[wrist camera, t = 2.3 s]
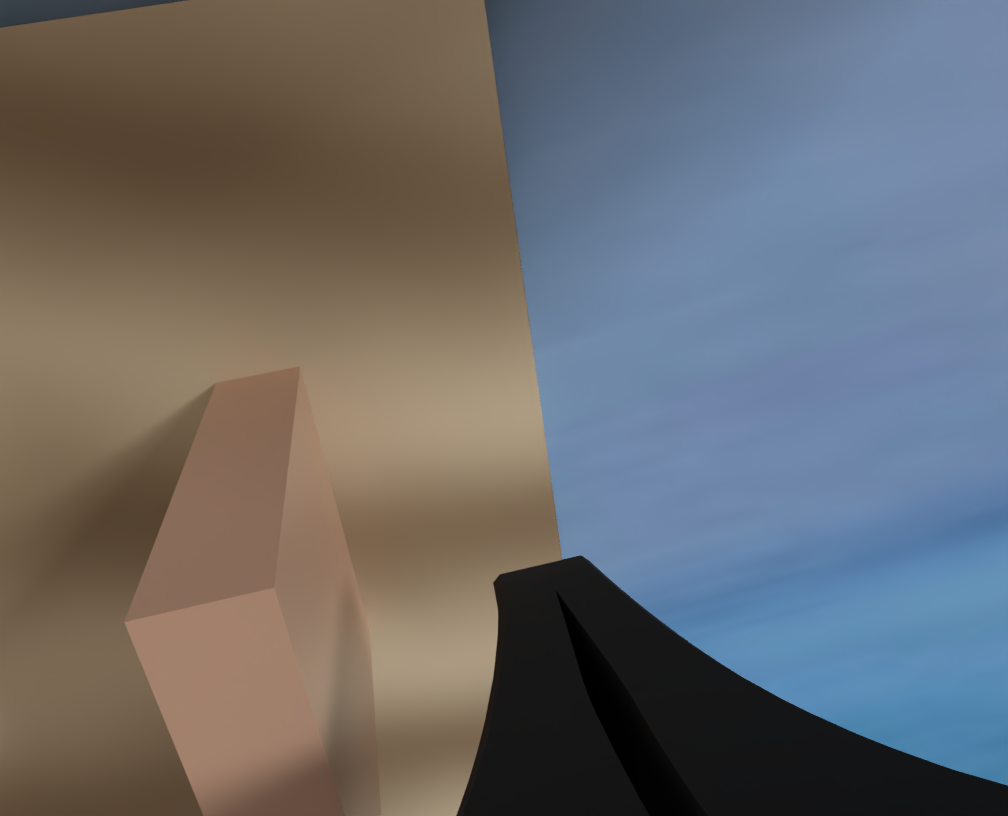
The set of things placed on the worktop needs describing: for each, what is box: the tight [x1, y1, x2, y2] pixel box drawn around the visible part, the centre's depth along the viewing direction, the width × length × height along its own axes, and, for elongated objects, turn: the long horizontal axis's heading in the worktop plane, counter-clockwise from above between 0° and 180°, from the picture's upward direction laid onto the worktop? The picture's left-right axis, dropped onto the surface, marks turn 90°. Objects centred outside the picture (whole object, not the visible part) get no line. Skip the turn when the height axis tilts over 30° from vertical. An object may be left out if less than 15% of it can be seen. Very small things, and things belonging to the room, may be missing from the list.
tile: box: [124, 366, 381, 816], centre depth 13 cm, size 6×2×7 cm, turn 8°
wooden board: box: [0, 0, 562, 816], centre depth 16 cm, size 18×15×1 cm
